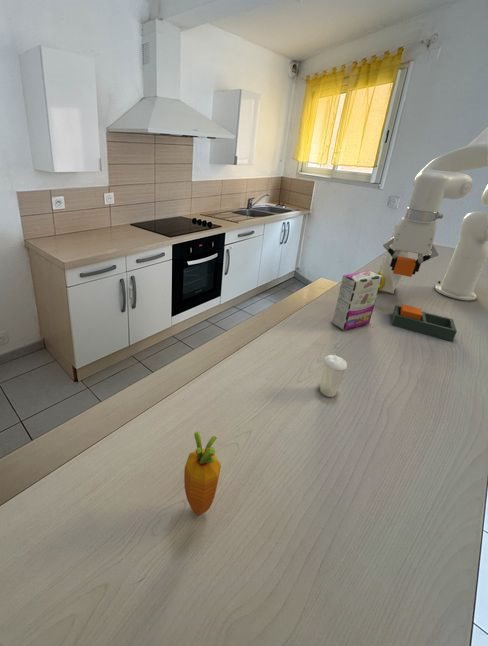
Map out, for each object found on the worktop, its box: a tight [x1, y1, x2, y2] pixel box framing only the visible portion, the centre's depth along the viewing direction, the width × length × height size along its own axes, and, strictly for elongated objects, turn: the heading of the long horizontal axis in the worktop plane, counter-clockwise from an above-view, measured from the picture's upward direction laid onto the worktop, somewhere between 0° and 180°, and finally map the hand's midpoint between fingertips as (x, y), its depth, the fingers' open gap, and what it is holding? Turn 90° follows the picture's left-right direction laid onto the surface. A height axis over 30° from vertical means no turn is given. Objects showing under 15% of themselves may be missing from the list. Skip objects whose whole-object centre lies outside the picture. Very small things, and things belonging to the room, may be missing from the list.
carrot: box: [183, 431, 221, 516], centre depth 45 cm, size 5×5×15 cm
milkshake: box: [319, 346, 348, 398], centre depth 71 cm, size 4×5×10 cm
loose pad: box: [393, 256, 416, 278], centre depth 103 cm, size 5×5×4 cm
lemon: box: [376, 271, 385, 290], centre depth 121 cm, size 6×6×8 cm
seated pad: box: [399, 304, 423, 320], centre depth 101 cm, size 5×5×4 cm
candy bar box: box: [332, 270, 383, 331], centre depth 97 cm, size 11×5×16 cm, turn 114°
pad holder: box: [391, 304, 457, 342], centre depth 99 cm, size 8×15×4 cm, turn 59°
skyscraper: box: [378, 222, 409, 295], centre depth 119 cm, size 8×8×28 cm
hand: (403, 270), depth 104 cm, fingers closed on loose pad, 5 cm apart
